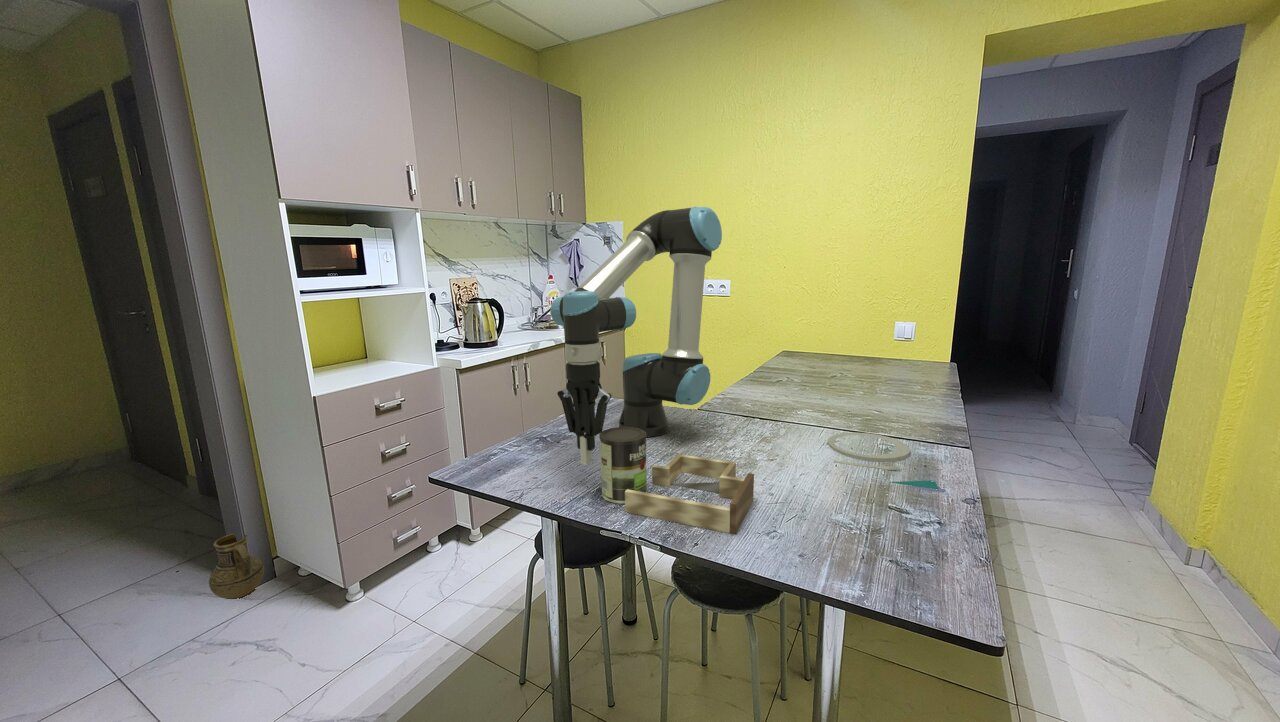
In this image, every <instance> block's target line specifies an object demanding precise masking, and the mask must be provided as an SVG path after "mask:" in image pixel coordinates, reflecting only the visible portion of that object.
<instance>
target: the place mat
mask: <svg viewBox="0 0 1280 722" xmlns="http://www.w3.org/2000/svg"><path fill="white" fill-rule="evenodd" d="M847 436H864V437H872V438H875V439H876V438H877V439H880V440H882V441H883V440H884V441H887V442H889V443H891V444H893V445H894V447H895V448H894V450H893V451H891V452H888V453H885V454H865V453H859V452H853V451H850V450H846V449H844V448H841V447H839V446H837V445H836V444H835V442H836V440H837V439H839V438H842V437H847ZM827 444H828V447H829V448H830V449H831V450H833V452H836V453H837V454H840V455H842V456H845V457H848V458H851V459H855V460H858V461H859V460H860V461H865V462H871V463H895V462H900V461H904V460H905V459H908V458H909V457H910V455H911V454H910V453H911V448H910V447H909V445H907V444H906V443H904V442H903V441H901V440H899V439H897V438H892V437H890V436H885V435H883V434H882V435H880V434H877V433H876V434H875V433H868V432H842V433H837V434H833V435H831V436H829V438H828V440H827ZM833 463H835V464H840V465H849V466H856V467H861V468H862V467H863V468H864V467H865V468H870V469H878V470H884V471H895V470H896V471H897V470H898V471H899V470H901V465H899V466H898V465H897V466H892V465H891V466H889V465H887V466H886V465H885V466H884V465H882V466H881V465H875V464H867V463H866V464H865V463H856V462H849V461H841V460H833ZM931 481H932V480H910V481H909V480H907V481H889V484H891V483H892V484H899V485H903V486H902V487H904V488H910V489H918V490H924V491H931V492H932V491H933V492H937V491H938V492H939V493H944V492H946V493H947V491H946V488H945V486H944V487H943V488H945V489H941V488H940V487H938V486H937V485H938V483H937V482H935V481H936V480H935V481H934V482H931ZM936 483H937V484H936ZM904 485H905V486H904ZM936 489H937V490H936Z"/></svg>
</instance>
